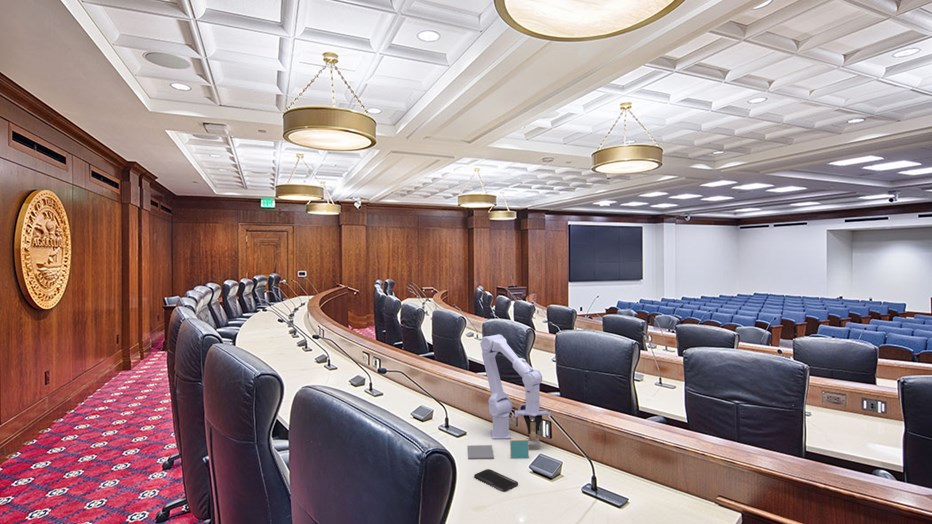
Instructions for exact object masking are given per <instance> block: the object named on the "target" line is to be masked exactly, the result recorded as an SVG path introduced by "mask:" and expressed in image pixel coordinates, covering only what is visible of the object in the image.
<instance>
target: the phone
mask: <svg viewBox="0 0 932 524" xmlns="http://www.w3.org/2000/svg"><path fill="white" fill-rule="evenodd" d="M473 478H474V479H475V478H476V480H477V479H478V480H477V481H479V480H480V481H479V482H481V481H482V482H481V483H483V482H484V483H483V484H485V483H486V484H485V485H487V486H489V485H490V486H489V487H491V486H492V487H491V488H493V487H494V489H495V488H496V489H495V490H497V491H499V492H502V493H506V492H508V491H511V490H512V489H514V488H516V487H518V486H519V482H518V481H517V480H515V479H512V478H510V477H508V476H506V475H504V474H501V473H499V472H497V471H494V470H493V469H490V468H486V469H484V470H482V471H480V472H479V471H478V472H476V473H475V474H473Z"/></svg>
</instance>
